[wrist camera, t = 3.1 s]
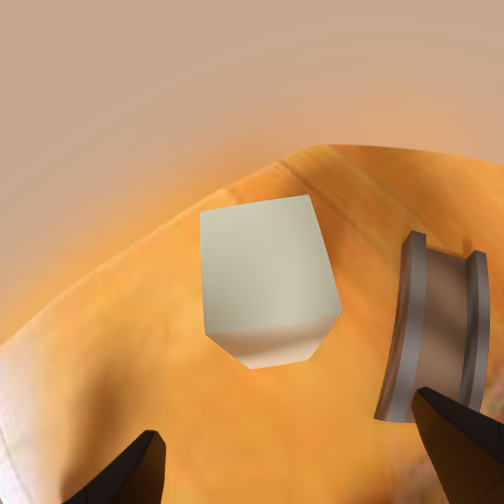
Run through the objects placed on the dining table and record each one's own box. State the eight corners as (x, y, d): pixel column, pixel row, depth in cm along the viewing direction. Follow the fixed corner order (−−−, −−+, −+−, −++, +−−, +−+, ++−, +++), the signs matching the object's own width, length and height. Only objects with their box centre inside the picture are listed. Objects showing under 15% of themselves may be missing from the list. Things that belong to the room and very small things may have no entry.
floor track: (460, 424, 14) (477, 424, 12) (373, 418, 16) (385, 421, 14) (473, 265, 21) (486, 253, 19) (401, 245, 23) (411, 230, 21)
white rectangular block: (307, 360, 20) (342, 312, 8) (250, 369, 20) (204, 333, 8) (297, 301, 22) (308, 194, 11) (242, 309, 22) (200, 211, 11)
